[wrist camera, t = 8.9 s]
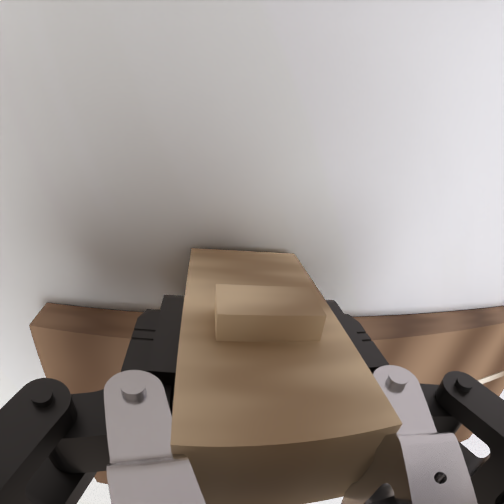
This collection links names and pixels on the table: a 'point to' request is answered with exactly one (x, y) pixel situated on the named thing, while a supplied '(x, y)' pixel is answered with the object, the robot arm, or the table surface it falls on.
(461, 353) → the walnut board
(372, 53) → the table surface
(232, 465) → the marking gauge
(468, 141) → the table surface
